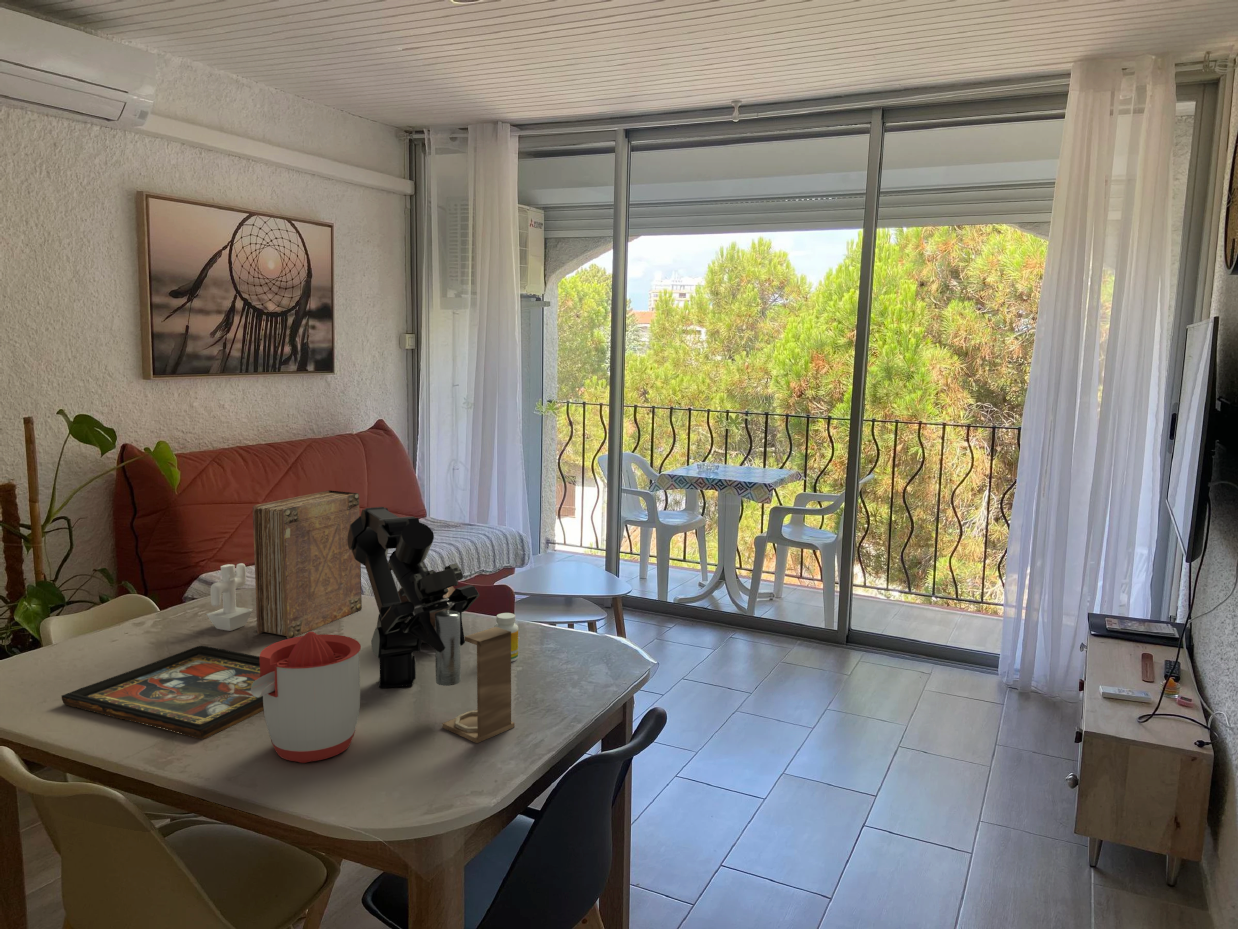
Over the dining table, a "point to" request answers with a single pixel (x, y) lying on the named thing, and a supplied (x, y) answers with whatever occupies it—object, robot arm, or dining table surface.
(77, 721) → the dining table surface
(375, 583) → the robot arm
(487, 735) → the ledge stand
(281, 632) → the book
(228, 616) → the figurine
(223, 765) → the dining table surface
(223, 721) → the framed icon painting
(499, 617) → the supplement bottle
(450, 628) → the metal tin
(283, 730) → the citrus juicer
